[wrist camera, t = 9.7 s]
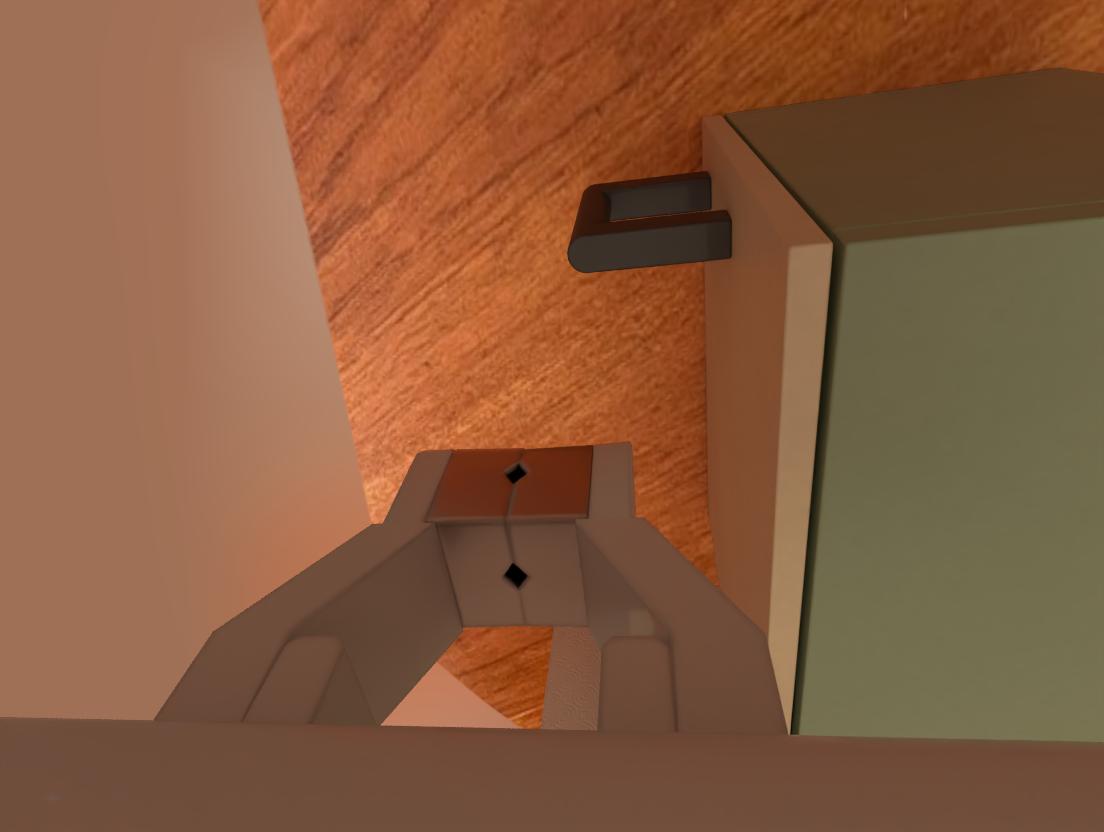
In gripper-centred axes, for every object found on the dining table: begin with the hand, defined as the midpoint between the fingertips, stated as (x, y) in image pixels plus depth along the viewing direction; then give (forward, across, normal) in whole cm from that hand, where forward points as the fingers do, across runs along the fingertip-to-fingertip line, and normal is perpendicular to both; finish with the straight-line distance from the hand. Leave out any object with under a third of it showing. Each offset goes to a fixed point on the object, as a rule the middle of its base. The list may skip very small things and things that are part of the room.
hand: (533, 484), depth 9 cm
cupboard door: (+26, -3, +11) cm, 28 cm away
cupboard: (+26, -13, +10) cm, 31 cm away
